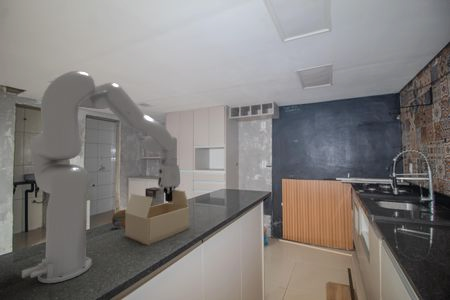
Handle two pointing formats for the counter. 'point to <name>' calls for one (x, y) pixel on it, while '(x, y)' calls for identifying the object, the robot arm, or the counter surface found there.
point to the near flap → (139, 205)
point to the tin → (119, 219)
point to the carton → (157, 223)
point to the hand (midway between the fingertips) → (168, 201)
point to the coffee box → (155, 195)
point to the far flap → (179, 198)
